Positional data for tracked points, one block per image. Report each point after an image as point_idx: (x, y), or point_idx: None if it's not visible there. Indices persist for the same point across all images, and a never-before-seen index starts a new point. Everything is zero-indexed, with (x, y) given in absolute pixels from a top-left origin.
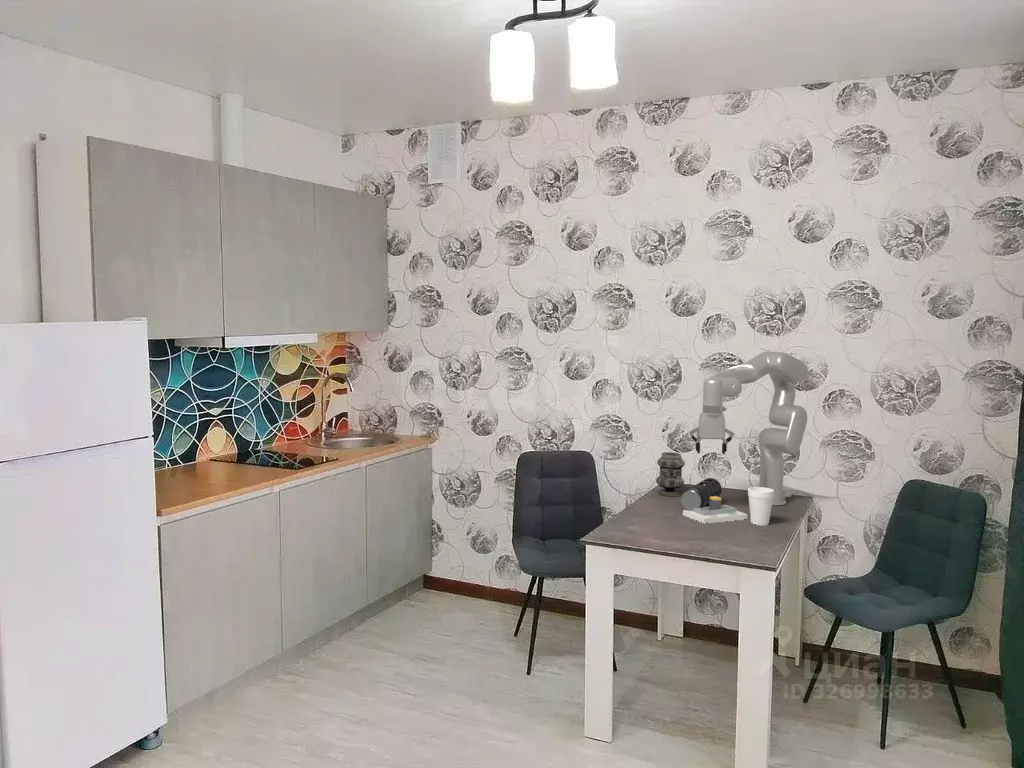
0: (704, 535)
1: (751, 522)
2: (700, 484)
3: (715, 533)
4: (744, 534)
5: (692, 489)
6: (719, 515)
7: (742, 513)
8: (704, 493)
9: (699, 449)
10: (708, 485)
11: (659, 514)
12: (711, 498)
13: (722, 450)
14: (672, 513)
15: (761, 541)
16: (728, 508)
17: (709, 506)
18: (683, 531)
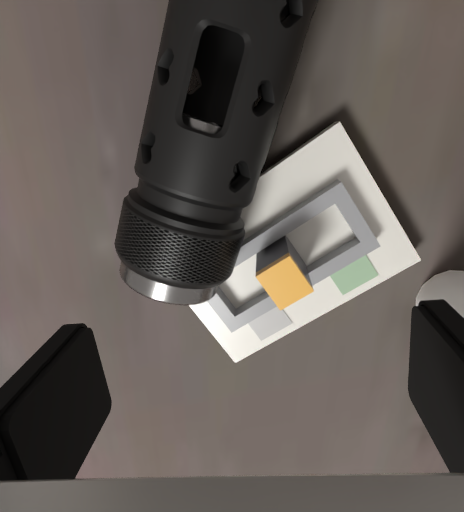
0: (235, 465)
1: (416, 305)
2: (199, 136)
3: (268, 443)
4: (358, 439)
5: (160, 281)
6: (295, 305)
7: (400, 250)
8: (228, 256)
9: (86, 450)
10: (253, 92)
11: (68, 257)
12: (264, 287)
13: (427, 368)
14: (112, 228)
15: None
16: (342, 254)
17: (256, 260)
18: (174, 440)
